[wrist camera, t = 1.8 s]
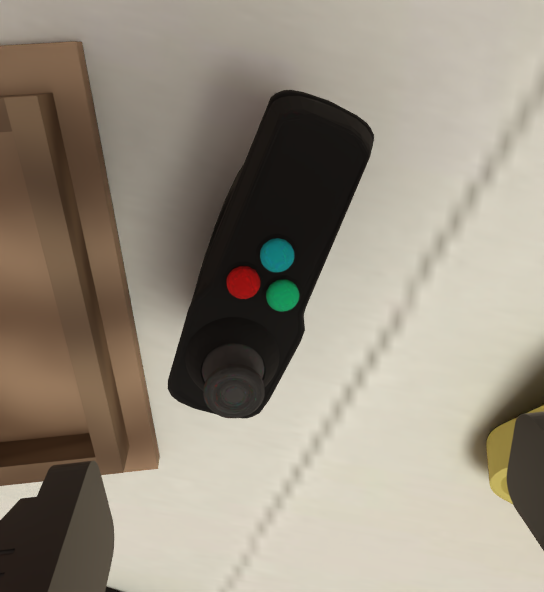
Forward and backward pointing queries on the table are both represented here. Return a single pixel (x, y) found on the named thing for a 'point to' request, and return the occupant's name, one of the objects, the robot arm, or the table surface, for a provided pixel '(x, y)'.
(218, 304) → the controller
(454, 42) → the table surface
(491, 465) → the plastic component
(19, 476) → the cradle
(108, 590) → the external hard drive
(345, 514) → the table surface
